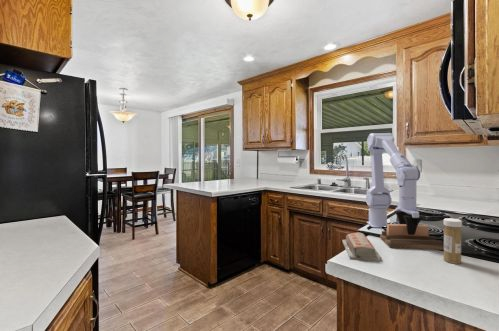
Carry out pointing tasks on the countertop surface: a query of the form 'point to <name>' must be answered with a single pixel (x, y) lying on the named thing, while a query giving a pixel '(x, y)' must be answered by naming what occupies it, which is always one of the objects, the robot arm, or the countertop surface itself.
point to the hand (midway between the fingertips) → (407, 231)
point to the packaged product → (360, 247)
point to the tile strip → (402, 230)
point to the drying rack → (412, 241)
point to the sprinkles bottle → (452, 240)
